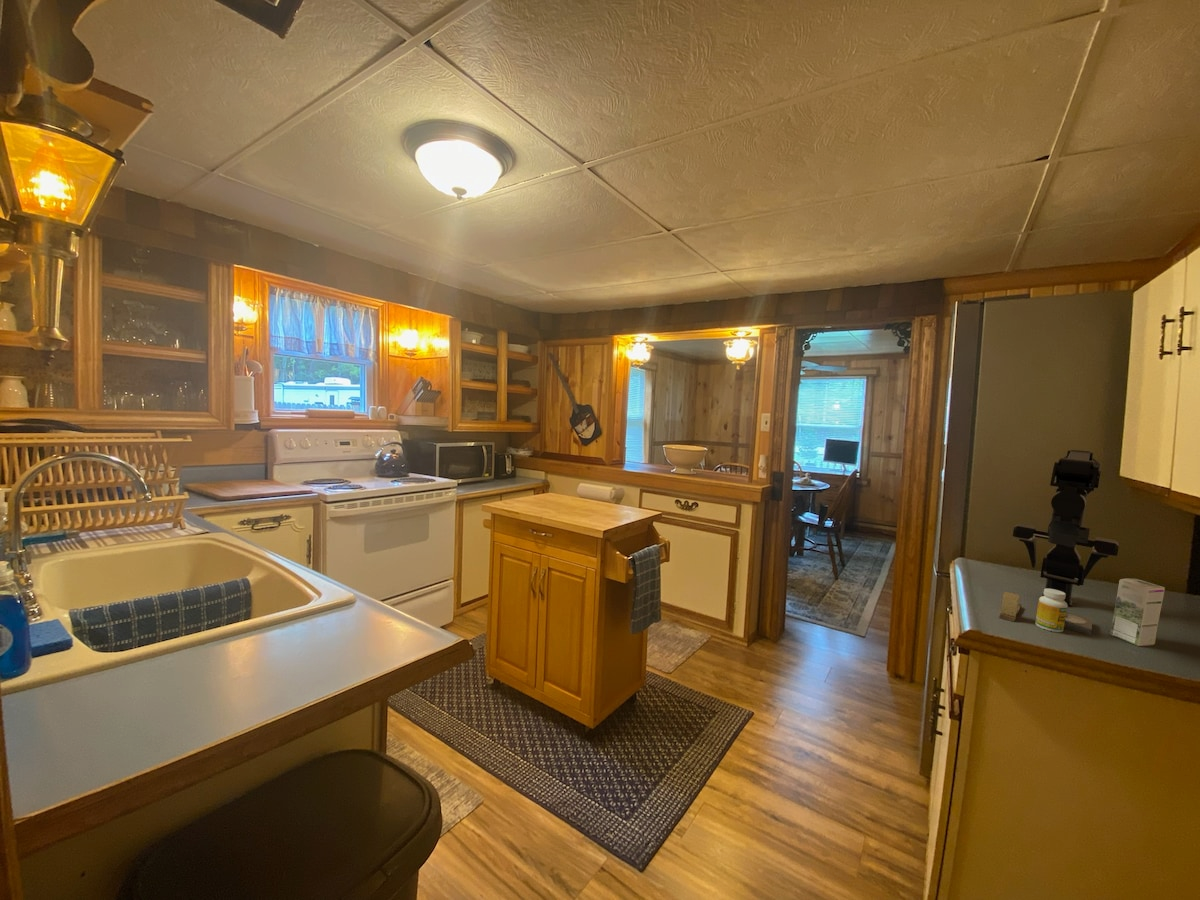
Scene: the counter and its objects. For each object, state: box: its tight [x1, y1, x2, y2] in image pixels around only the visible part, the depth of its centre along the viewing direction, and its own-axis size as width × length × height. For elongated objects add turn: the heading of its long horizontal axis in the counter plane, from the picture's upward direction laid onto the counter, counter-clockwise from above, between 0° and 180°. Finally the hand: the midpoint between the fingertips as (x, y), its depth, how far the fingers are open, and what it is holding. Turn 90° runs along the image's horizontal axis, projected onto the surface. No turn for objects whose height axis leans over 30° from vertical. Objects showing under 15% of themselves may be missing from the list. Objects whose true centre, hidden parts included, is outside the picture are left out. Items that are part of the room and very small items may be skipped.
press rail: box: [999, 602, 1022, 623], centre depth 135 cm, size 14×3×1 cm, turn 135°
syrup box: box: [1109, 577, 1166, 647], centre depth 122 cm, size 6×6×14 cm
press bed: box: [1064, 612, 1093, 636], centre depth 130 cm, size 9×9×2 cm
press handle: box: [1000, 591, 1021, 617], centre depth 131 cm, size 3×3×5 cm
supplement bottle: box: [1035, 588, 1068, 633], centre depth 126 cm, size 5×5×10 cm
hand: (1057, 572), depth 124 cm, fingers open, 9 cm apart
